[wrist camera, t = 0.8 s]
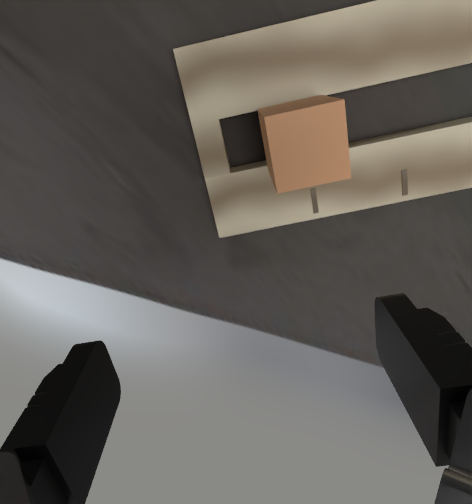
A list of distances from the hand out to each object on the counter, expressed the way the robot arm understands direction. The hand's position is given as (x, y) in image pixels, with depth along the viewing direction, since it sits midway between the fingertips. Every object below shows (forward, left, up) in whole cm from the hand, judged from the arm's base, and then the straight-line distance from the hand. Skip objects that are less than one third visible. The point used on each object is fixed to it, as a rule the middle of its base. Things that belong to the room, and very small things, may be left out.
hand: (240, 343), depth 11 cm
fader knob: (-2, +5, -22) cm, 23 cm away
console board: (-2, +13, -22) cm, 26 cm away
